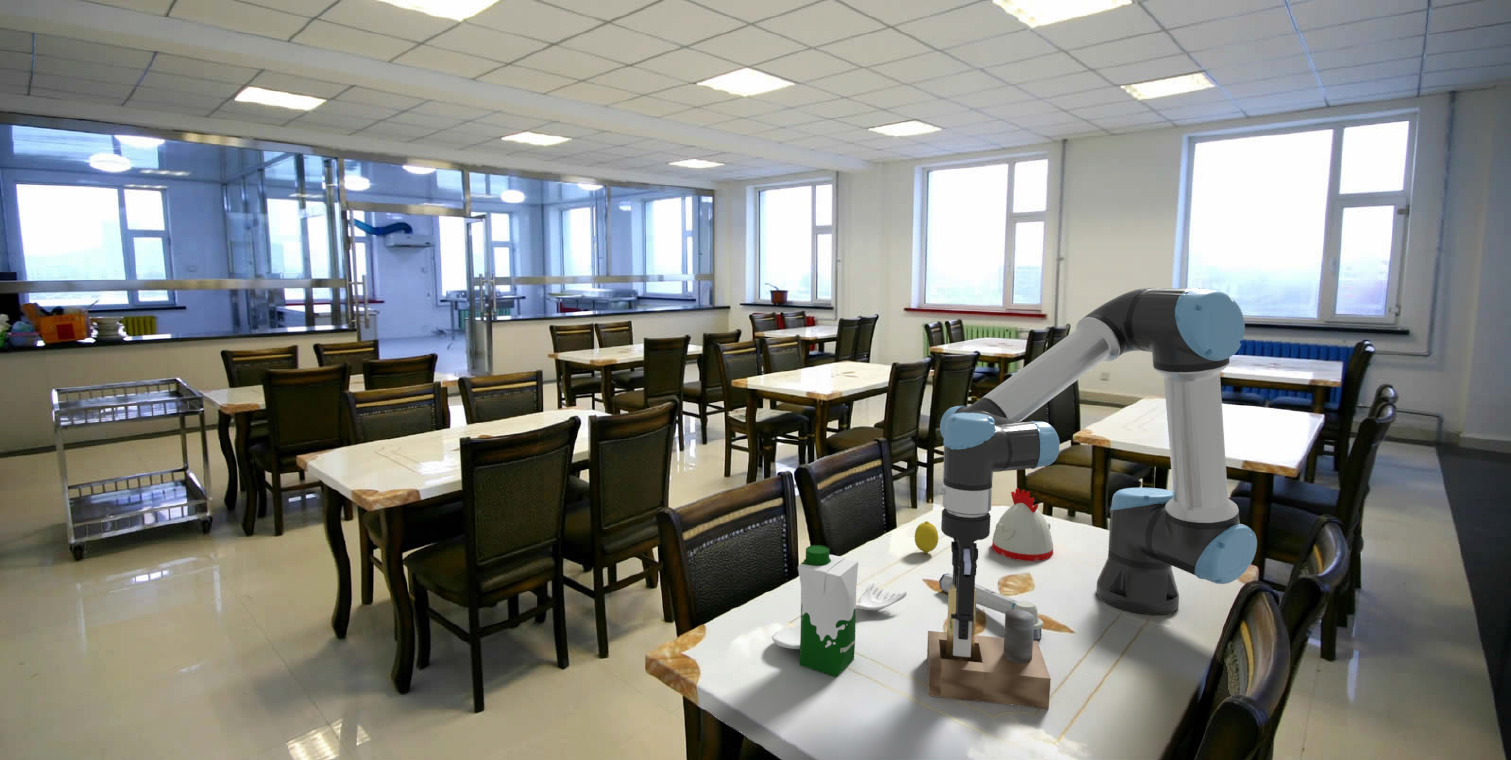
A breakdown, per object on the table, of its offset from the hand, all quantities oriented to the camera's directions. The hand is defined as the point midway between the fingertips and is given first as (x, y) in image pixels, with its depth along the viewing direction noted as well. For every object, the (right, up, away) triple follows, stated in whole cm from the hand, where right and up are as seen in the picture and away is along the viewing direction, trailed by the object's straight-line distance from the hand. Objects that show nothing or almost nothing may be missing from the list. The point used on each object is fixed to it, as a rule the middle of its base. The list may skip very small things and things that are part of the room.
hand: (960, 646), depth 122 cm
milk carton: (-21, -5, +6) cm, 23 cm away
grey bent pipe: (+12, -3, +25) cm, 28 cm away
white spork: (-18, -3, +19) cm, 26 cm away
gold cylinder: (0, -2, 0) cm, 2 cm away
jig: (+4, -6, 0) cm, 7 cm away
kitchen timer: (+31, +2, +58) cm, 66 cm away
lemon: (+7, +2, +56) cm, 56 cm away
